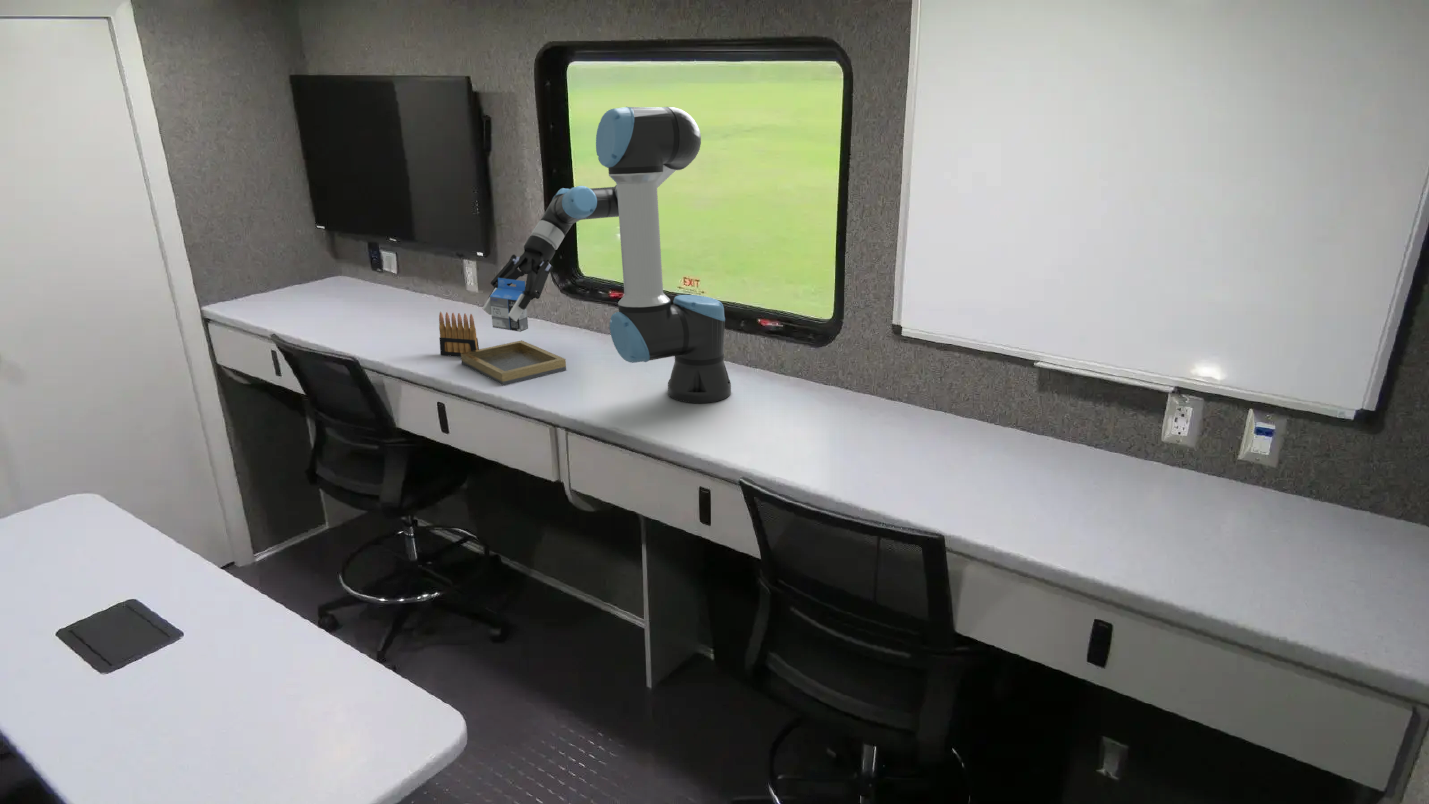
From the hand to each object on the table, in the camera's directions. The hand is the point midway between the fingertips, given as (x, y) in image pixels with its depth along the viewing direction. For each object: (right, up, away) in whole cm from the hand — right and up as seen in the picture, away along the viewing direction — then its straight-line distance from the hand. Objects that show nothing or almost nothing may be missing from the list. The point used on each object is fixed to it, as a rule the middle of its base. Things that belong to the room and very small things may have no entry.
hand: (499, 315), depth 213 cm
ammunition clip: (-15, -9, +16) cm, 24 cm away
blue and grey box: (+2, -3, +4) cm, 5 cm away
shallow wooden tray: (+2, -13, +7) cm, 15 cm away
